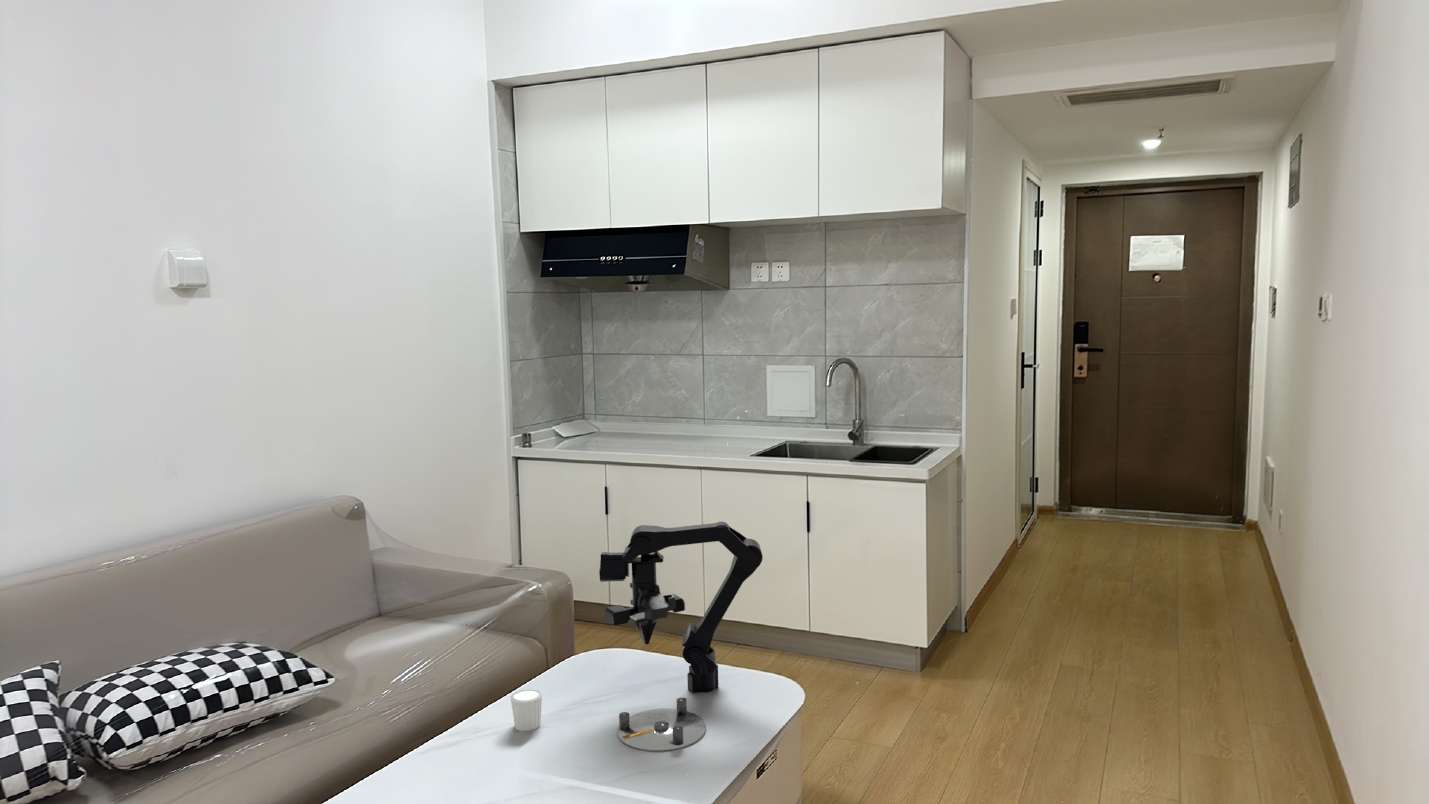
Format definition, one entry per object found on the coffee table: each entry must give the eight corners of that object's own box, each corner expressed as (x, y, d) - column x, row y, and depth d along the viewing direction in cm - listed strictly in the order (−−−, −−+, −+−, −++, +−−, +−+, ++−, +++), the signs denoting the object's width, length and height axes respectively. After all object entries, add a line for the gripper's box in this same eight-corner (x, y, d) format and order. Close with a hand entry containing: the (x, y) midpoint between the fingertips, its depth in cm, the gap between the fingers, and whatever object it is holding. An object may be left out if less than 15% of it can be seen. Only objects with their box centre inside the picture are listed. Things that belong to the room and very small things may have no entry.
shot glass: (516, 735, 204) (515, 704, 203) (508, 722, 210) (506, 692, 209) (547, 727, 207) (545, 697, 206) (538, 715, 213) (536, 686, 212)
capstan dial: (681, 703, 216) (680, 688, 215) (721, 737, 199) (721, 720, 199) (604, 723, 207) (603, 707, 206) (639, 760, 190) (638, 742, 190)
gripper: (622, 596, 209) (625, 663, 211) (695, 581, 219) (697, 646, 221) (602, 583, 219) (604, 648, 221) (672, 570, 228) (674, 632, 230)
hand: (646, 644), depth 223 cm, fingers closed
